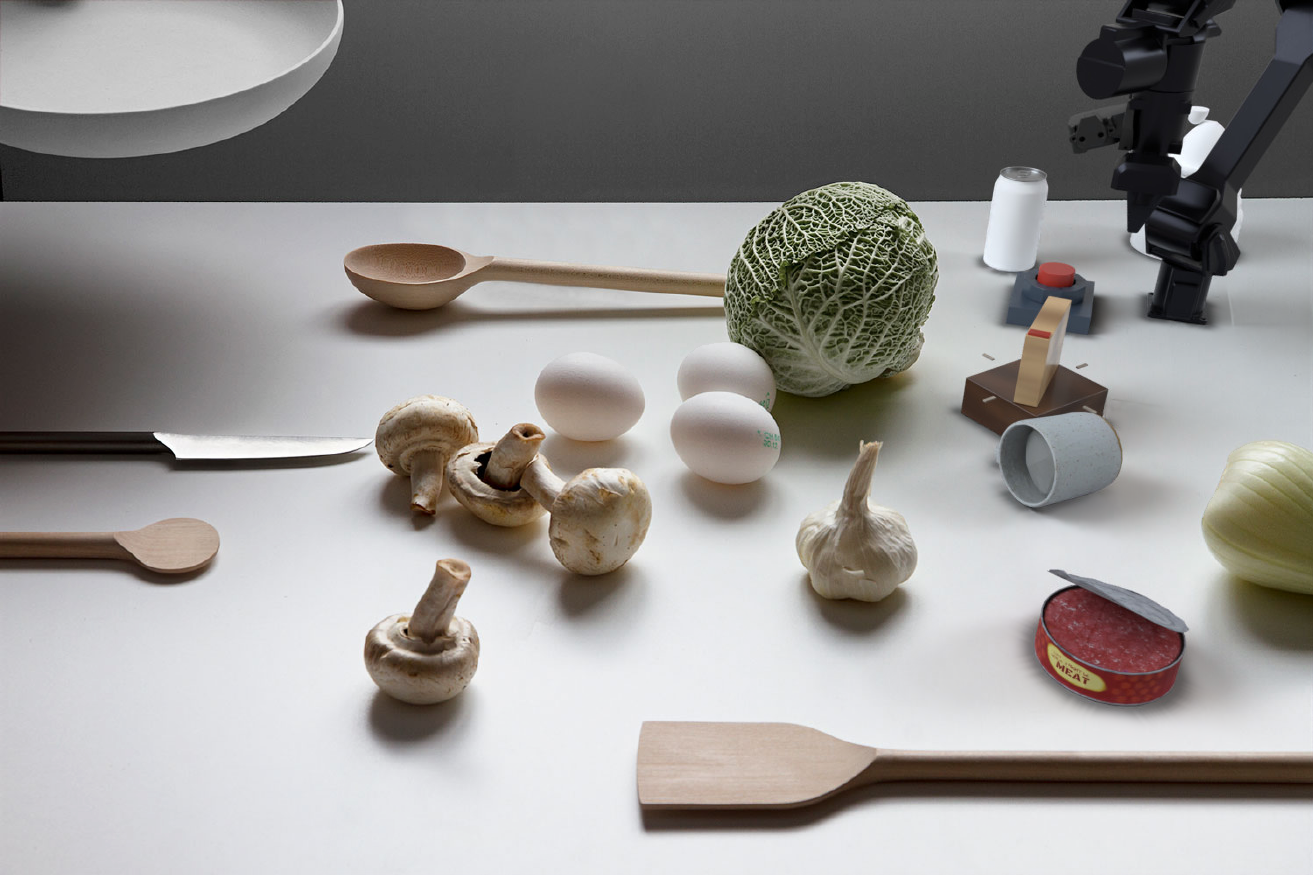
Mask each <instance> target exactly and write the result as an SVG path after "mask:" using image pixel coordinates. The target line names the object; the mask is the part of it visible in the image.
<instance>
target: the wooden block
mask: <svg viewBox="0 0 1313 875" xmlns="http://www.w3.org/2000/svg"><path fill="white" fill-rule="evenodd" d="M981 356H982V357H984V358H986V359H988V360H990V361H995V360H996V358H995V357H993V356H991V355H989V354H987V353H985V352H984V353H982V355H981ZM1020 363H1021V358H1020V359H1017V360H1013V361H1010V362H1008V363H1005V364H1002V365H999V366H995V367H993V368H990V369H987V370H984V371H982V372H981V371H980V372H978V373H975V374H972V375H970V376H967V377H966V378H965V383H964V388H963V389H964V390H963V396H962V401H961V402H962V403H961V408H960V413H961V414H962V415H964V416H966V417H967V418H969V419H971V420H973V421H974V422H976V423H978V424H980V425H981V426H983V427H985V428H987V429H988V430H990V431H991V432H993V433H995V434H996V435H998V436H1000V437H1002V435H1003V433H1004V432H1005V430H1006V429H1007V428H1008V427H1009V426H1010V425H1011V424H1013V423H1015V422H1018V421H1021V420H1027V419H1034V418H1042V417H1049V416H1056V415H1062V414H1067V413H1072V412H1087V413H1094V414H1097V415H1100V416H1101V417H1103V415H1104V412H1105V406H1106V403H1107V398H1108V394H1109V388H1108V387H1106V386H1104V385H1101V384H1100V383H1098V382H1096V381H1094V380H1092V379H1090V378H1088V377H1086V376H1084V375H1082V374H1080V373H1078V372H1076V371H1074V370H1072V369H1070V368H1067V367H1066V366H1064V365H1062V364H1060V363H1059V365H1058V367H1057V369H1056V371H1055V373H1054V375H1053V377H1052V379H1051V381H1050V383H1049V385H1048V386H1047V388H1046V390H1045V392H1044V394H1043V396H1042V398H1041V400H1040V402H1039V404H1038V406H1037V407H1033V406H1029V405H1024V404H1020V403H1016V402H1014V396H1015V390H1016V385H1017V379H1018V374H1019V368H1020ZM1088 366H1089V363H1086V362H1085V363H1082V364H1079V365H1076V366H1075V369H1077V370H1080V369H1083V368H1086V367H1088Z"/></svg>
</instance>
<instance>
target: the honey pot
mask: <svg viewBox="0 0 1313 875" xmlns="http://www.w3.org/2000/svg"><path fill="white" fill-rule="evenodd" d="M1209 112H1210V108H1208V107H1205V106H1201V105H1192V108H1191V113H1190V114H1189V117H1188V121H1189V123H1190V124H1192V125H1196V126H1195V127H1193V128H1192V129H1191V130H1190V131H1189V132H1187V134H1185V135H1184V138H1183V147H1182V151H1181V155H1177V154H1168V156H1169V157H1174V158H1175V159H1176V160H1177V162H1178V163H1179V164H1180V166H1181V167H1182V169H1181V177H1183V178H1185V177H1187V176H1189V175H1191V174H1192V173H1194V172H1196V171H1197V170H1198V169H1199V167H1200V166H1201V164H1202V163H1203V161H1204V160H1205V158H1206V157H1207V155H1208V154H1209V152H1210V151H1211V149H1212V148H1213V146H1214V145H1215V143H1216V142H1217V141H1218V139H1219V138H1220V136H1221V135H1222V133H1223V132H1224V130H1225V129H1226V128H1224V126H1223V125H1221V124H1220V123H1219V122H1218V121H1217V120H1209V119H1206V118H1207V117H1208V115H1209ZM1241 195H1242V188H1241V189H1240V191H1239V192H1238V197H1237V221H1236V223H1235V225H1234V227H1233V228H1232V230H1231V232H1230V233H1231V235H1232V237H1233V239H1234V241H1235V242H1236V244H1237V243H1238V239H1239V235H1240V231H1241V228H1242V223H1243V222H1244V211H1243V208H1242V203H1243V199H1242V197H1241ZM1129 242H1130V245H1131V247H1133V248H1134V249H1135V250H1136V251H1138V252H1140V253H1141V254H1142V255H1145V256H1147V257H1151V258H1154V259H1156V260H1160V261H1162V259H1161V258H1159V257H1156V256H1154V255H1149V254H1147V253H1146V247H1145V224H1144V225H1143V227H1142V228H1141V229H1140V231H1139V232H1138V233H1130V238H1129Z"/></svg>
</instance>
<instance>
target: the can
mask: <svg viewBox="0 0 1313 875" xmlns="http://www.w3.org/2000/svg"><path fill="white" fill-rule="evenodd" d="M1047 178H1048V174H1047V173H1046V172H1045V171H1043V170H1041V169H1038V168H1034V167H1029V166H1007V167H1004V168H1002V169H1000V171H999V176H998V178H997V179H996V181H995V183H994V187H993V193H992V198H991V203H990V204H991V205H990V213H989V217H988V223H987V224H988V225H987V230H986V236H985V244H984V250H983V263H985V265H986V266H987V267H989V268H990V269H993V270H995V271H997V272H1003V273H1013V274H1014V273H1015V274H1017V272H1025V273H1026V272H1029V271H1031V270H1032V269H1033V267H1035V265H1036V260H1037V256H1038V255H1037V254H1038V250H1039V244H1040V239H1041V234H1042V228H1043V222H1044V216H1045V211H1046V207H1047V206H1046V204H1047V200H1048V193H1049V185H1048V182H1047Z"/></svg>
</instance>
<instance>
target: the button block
mask: <svg viewBox="0 0 1313 875" xmlns="http://www.w3.org/2000/svg"><path fill="white" fill-rule="evenodd" d="M1038 273H1039V268H1032V269H1030V270H1028V271H1025V272H1017V273H1016V276H1015V280H1014V284H1013V287H1012V291H1011V296H1010V300H1009V304H1008V307H1007V314H1006V320H1005V324H1007V325H1012V326H1021V327H1026V328H1027V327H1028V328H1030V327H1031V325H1032V324H1033V322H1034V320H1035V319H1036V317H1037V315H1038V313H1039V312H1040V310H1041V308H1042V307H1043V305H1044V303H1045V302H1046V300H1047V298H1048V297H1049V296H1052V297H1058V298H1063V299H1068V300H1072V302H1071V307H1070V312H1069V317H1068V322H1067V327H1066V332H1065V333H1069V334H1076V335H1085V336H1088V334H1089V331H1090V326H1091V321H1092V314H1093V304H1094V295H1095V285H1096V281H1095V280H1087V279H1086V278H1085V277H1083V276H1082V275H1081V274H1079V273H1076V272H1075V277H1074V282H1073V285H1072V286H1071V287H1062V288H1058V287H1051V286H1046V285H1044V284H1041V283H1039V282H1038V281H1037V278H1038Z"/></svg>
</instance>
